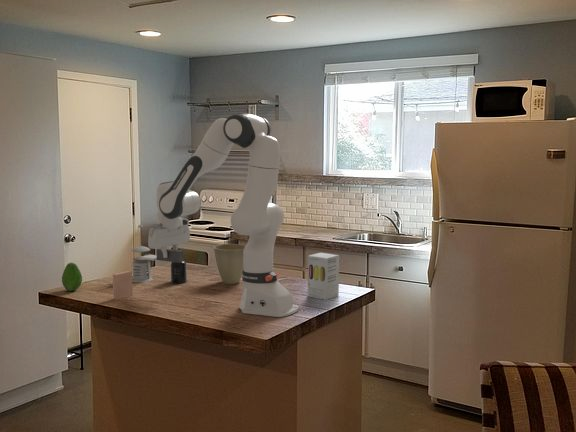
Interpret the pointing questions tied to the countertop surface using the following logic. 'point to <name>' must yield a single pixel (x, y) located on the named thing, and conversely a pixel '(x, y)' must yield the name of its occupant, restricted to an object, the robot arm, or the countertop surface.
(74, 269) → the avocado
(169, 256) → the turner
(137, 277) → the french press
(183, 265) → the supplement bottle
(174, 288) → the countertop surface
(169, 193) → the robot arm
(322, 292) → the supplement box
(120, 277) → the glazed tile
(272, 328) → the countertop surface
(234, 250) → the plant pot
